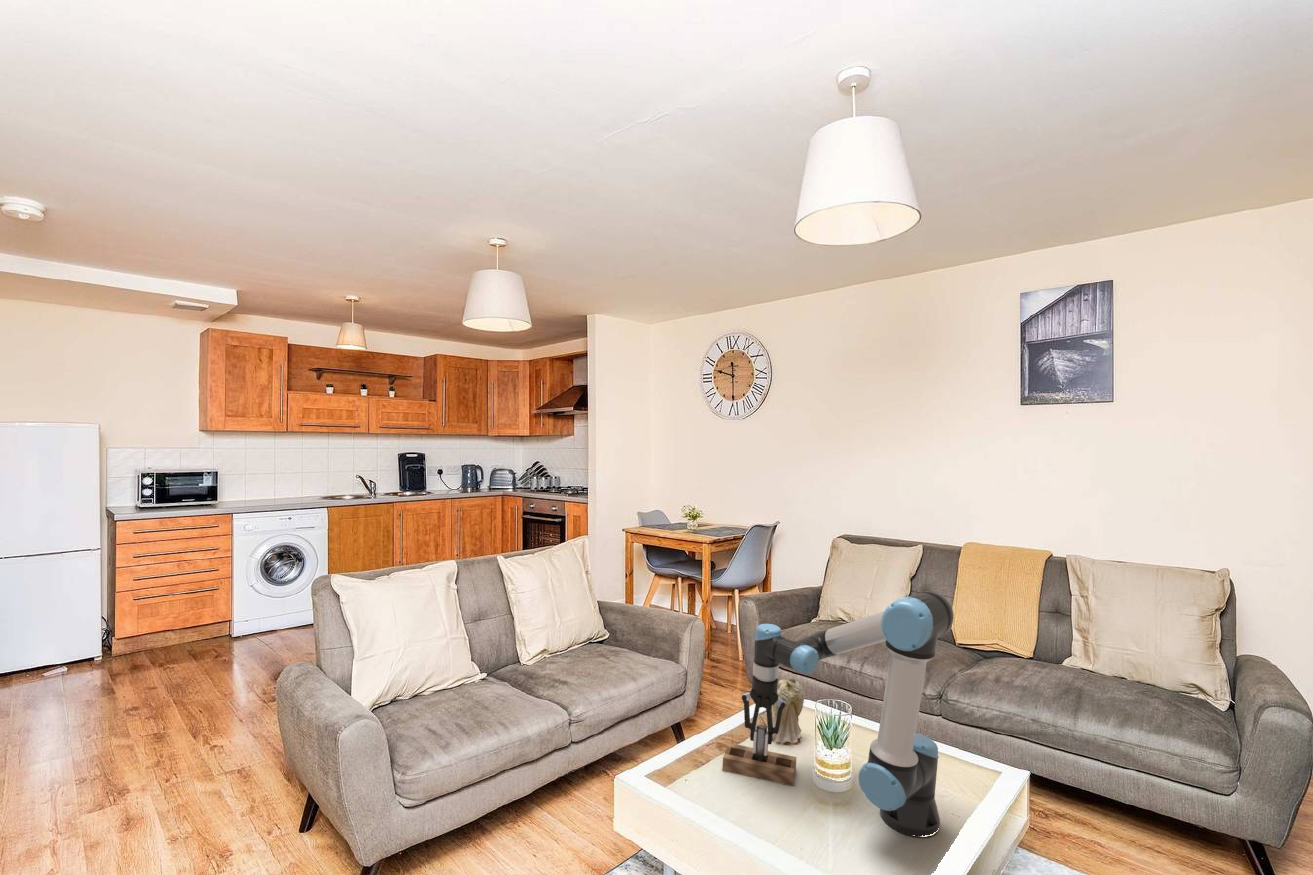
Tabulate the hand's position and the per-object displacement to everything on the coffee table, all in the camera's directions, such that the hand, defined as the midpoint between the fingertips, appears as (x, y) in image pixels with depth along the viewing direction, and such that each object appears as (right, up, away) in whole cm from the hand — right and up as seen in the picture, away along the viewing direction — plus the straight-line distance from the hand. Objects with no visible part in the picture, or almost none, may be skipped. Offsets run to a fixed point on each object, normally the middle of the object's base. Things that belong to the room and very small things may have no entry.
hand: (760, 751), depth 195 cm
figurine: (+11, -5, +21) cm, 24 cm away
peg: (0, -4, 0) cm, 4 cm away
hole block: (0, -6, 0) cm, 6 cm away
